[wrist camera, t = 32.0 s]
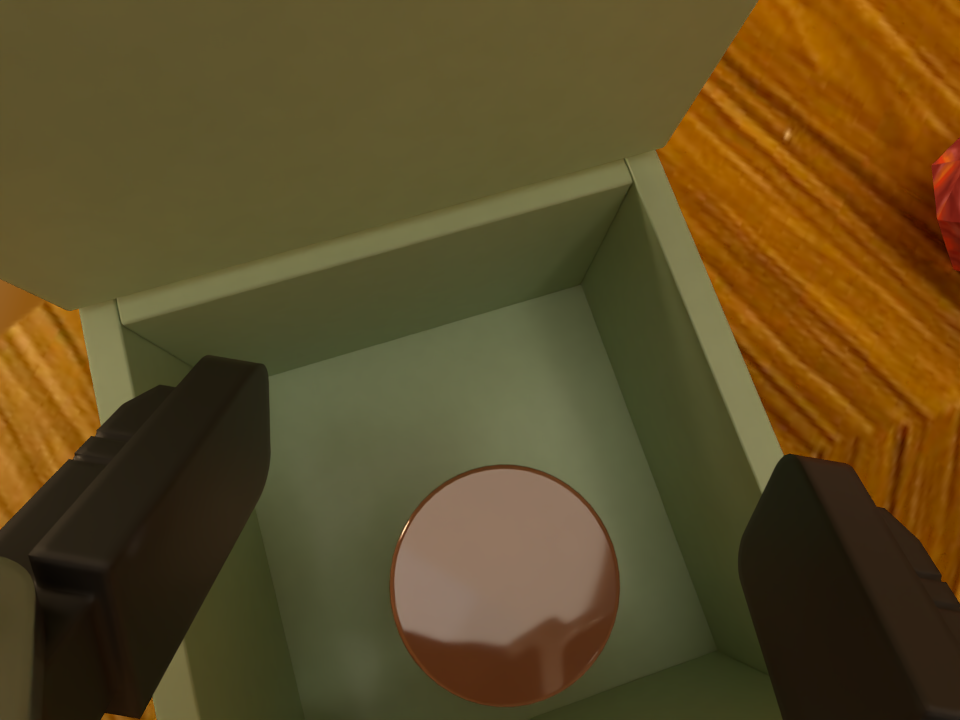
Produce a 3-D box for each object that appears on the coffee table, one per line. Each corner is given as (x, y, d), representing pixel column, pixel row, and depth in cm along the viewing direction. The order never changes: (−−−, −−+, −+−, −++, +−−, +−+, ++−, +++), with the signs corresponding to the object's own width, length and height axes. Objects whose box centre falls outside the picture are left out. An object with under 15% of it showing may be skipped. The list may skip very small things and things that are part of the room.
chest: (740, 662, 21) (906, 742, 13) (308, 821, 19) (211, 1014, 12) (590, 266, 24) (654, 144, 16) (206, 378, 22) (76, 302, 15)
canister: (432, 632, 20) (426, 745, 10) (397, 510, 20) (361, 503, 11) (549, 591, 20) (655, 661, 10) (511, 473, 21) (576, 435, 11)
